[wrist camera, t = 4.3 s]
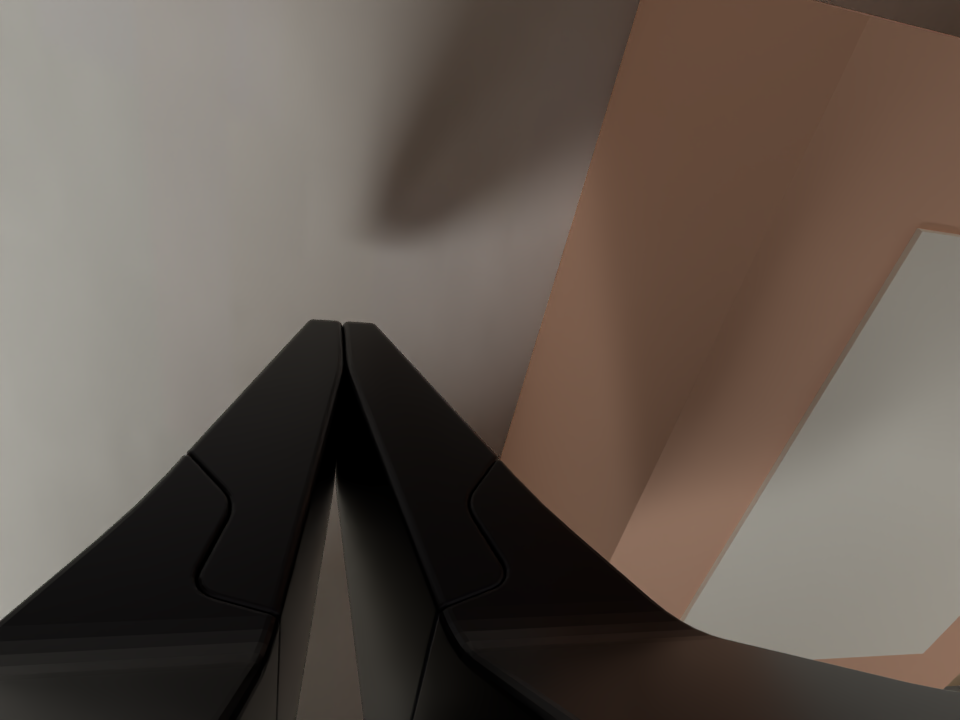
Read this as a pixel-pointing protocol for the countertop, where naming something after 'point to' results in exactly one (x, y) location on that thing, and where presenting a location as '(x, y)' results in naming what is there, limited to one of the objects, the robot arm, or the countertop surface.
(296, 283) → the countertop surface
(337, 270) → the countertop surface
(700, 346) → the carton
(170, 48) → the countertop surface
